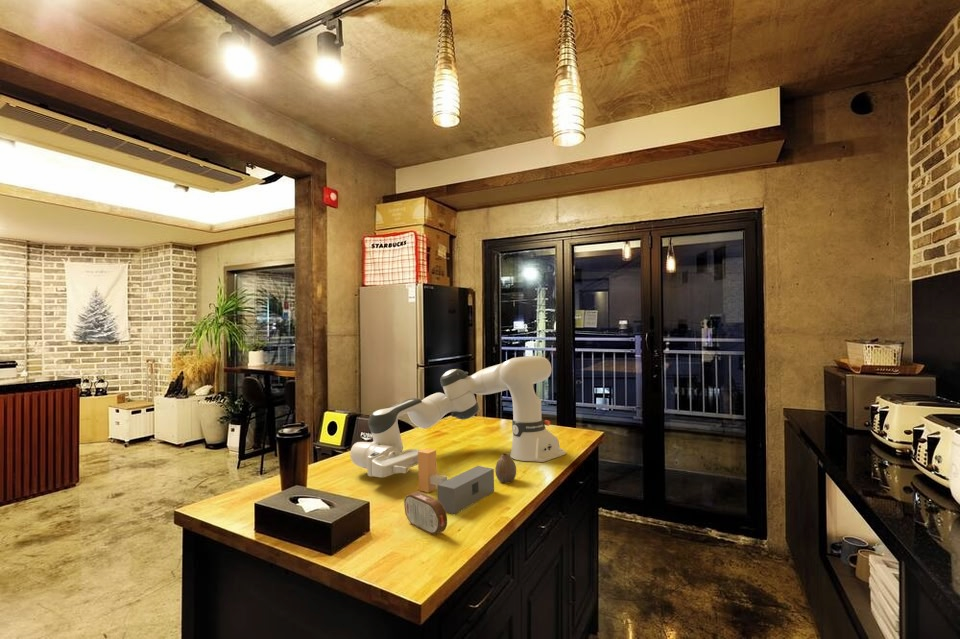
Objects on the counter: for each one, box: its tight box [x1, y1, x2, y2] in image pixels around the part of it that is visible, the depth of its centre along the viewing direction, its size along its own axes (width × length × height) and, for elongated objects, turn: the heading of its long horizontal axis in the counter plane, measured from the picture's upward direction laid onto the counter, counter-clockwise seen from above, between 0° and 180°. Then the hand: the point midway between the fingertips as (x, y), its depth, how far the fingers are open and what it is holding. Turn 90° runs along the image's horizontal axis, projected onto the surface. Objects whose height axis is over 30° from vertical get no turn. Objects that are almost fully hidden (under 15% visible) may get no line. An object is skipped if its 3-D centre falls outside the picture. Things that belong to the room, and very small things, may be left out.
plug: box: [417, 448, 448, 493], centre depth 140 cm, size 9×4×12 cm, turn 55°
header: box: [436, 465, 495, 515], centre depth 132 cm, size 6×20×7 cm, turn 145°
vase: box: [494, 453, 517, 484], centre depth 148 cm, size 7×7×9 cm
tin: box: [403, 490, 448, 536], centre depth 114 cm, size 15×3×8 cm, turn 45°
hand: (417, 466), depth 143 cm, fingers open, 8 cm apart
